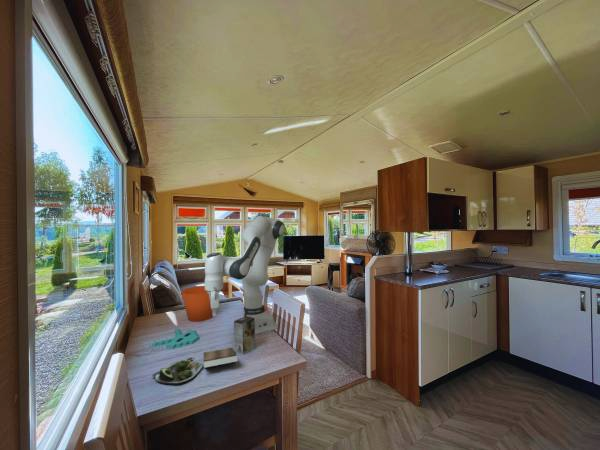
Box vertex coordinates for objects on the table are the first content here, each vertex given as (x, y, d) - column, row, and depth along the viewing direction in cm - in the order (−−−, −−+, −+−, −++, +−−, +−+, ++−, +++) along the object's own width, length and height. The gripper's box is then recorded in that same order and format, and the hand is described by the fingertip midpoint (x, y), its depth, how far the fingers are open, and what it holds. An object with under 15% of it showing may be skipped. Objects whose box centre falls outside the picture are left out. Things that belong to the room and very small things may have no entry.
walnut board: (232, 351, 131) (232, 347, 131) (234, 359, 123) (234, 355, 123) (203, 356, 126) (203, 352, 126) (203, 365, 118) (203, 361, 118)
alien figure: (151, 347, 137) (184, 351, 133) (151, 343, 137) (184, 346, 133) (176, 332, 156) (205, 334, 152) (176, 328, 156) (205, 331, 152)
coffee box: (246, 345, 138) (246, 315, 138) (255, 347, 135) (255, 317, 135) (233, 352, 130) (233, 320, 130) (242, 355, 127) (242, 323, 127)
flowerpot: (211, 324, 168) (211, 294, 168) (174, 324, 168) (174, 294, 168) (223, 311, 193) (223, 285, 193) (190, 311, 193) (190, 285, 193)
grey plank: (235, 360, 122) (234, 356, 122) (237, 361, 114) (237, 356, 115) (204, 366, 116) (203, 361, 117) (204, 367, 109) (204, 362, 110)
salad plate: (176, 359, 124) (176, 350, 124) (210, 362, 121) (210, 353, 121) (146, 384, 105) (146, 372, 105) (185, 388, 102) (185, 376, 102)
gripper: (222, 289, 119) (222, 319, 119) (219, 281, 138) (219, 306, 138) (208, 290, 116) (208, 321, 116) (206, 281, 135) (206, 307, 135)
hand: (213, 313), depth 127 cm, fingers open, 7 cm apart
